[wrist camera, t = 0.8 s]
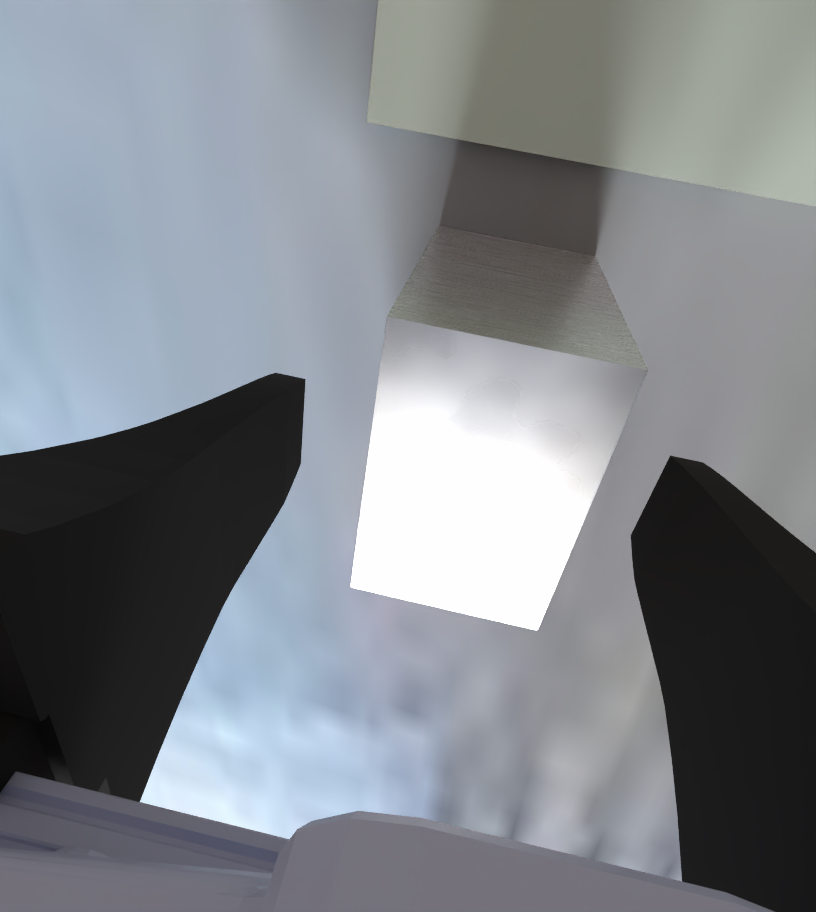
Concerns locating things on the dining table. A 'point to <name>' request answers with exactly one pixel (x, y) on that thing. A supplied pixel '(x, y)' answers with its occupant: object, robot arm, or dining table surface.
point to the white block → (491, 425)
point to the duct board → (612, 84)
